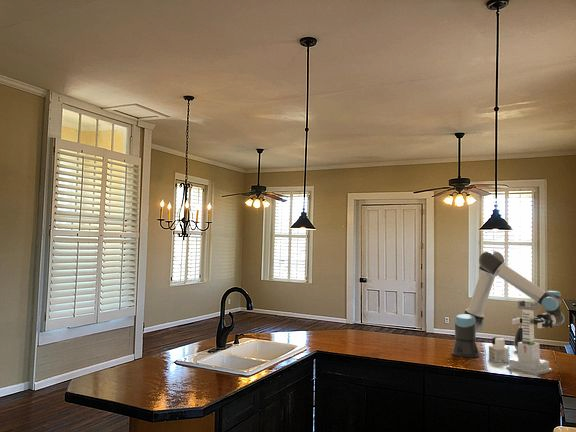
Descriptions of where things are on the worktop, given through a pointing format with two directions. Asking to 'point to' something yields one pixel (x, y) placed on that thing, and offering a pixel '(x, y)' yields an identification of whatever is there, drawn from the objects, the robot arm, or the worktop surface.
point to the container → (498, 350)
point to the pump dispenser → (518, 337)
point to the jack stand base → (529, 360)
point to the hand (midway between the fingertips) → (525, 323)
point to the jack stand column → (528, 320)
